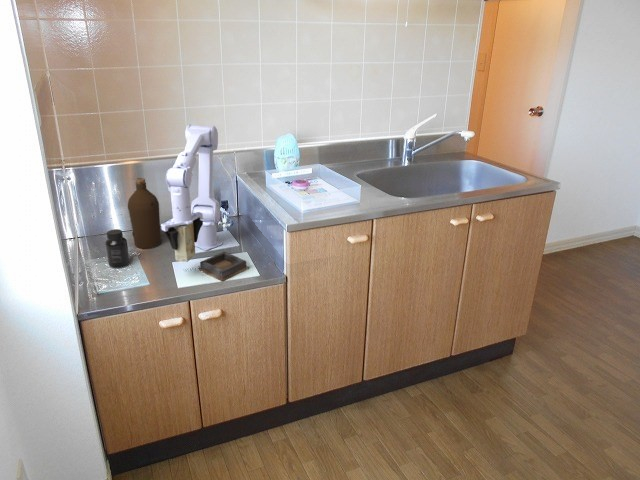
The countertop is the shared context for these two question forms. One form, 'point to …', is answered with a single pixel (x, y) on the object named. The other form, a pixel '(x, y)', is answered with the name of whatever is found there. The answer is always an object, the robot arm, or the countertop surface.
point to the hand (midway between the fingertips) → (184, 244)
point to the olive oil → (144, 217)
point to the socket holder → (223, 266)
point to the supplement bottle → (117, 249)
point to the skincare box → (185, 242)
